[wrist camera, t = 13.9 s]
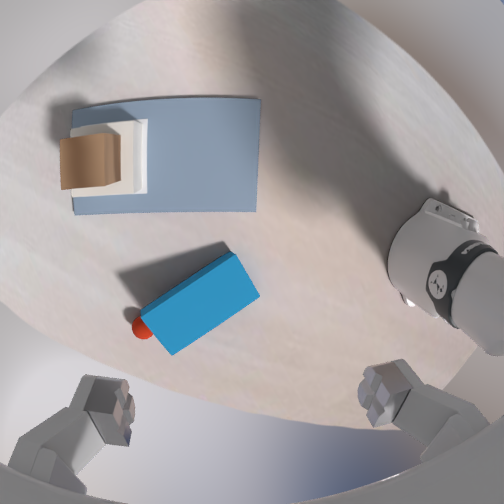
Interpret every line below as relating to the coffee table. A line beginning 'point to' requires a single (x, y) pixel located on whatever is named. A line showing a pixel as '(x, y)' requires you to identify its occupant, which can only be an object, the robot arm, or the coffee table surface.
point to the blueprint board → (184, 155)
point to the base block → (129, 158)
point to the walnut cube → (90, 161)
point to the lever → (197, 304)
